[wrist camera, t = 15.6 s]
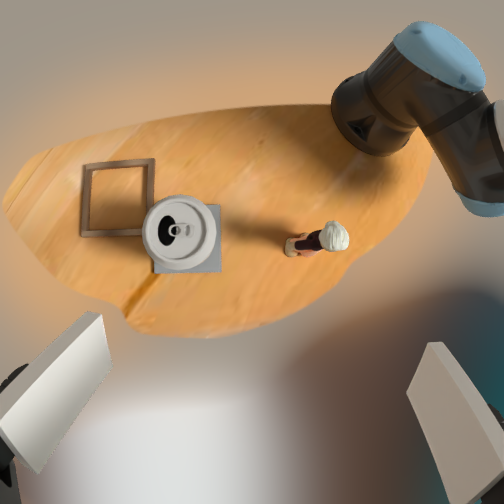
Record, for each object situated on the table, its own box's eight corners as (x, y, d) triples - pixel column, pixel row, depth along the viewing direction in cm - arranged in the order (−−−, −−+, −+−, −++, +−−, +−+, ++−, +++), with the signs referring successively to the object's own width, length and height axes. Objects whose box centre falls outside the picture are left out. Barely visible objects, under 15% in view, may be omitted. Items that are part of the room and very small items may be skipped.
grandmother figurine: (284, 268, 41) (318, 272, 28) (273, 243, 41) (301, 236, 28) (330, 244, 42) (376, 238, 29) (319, 220, 42) (362, 205, 29)
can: (160, 210, 38) (140, 190, 26) (215, 212, 39) (218, 191, 27) (158, 266, 38) (136, 269, 26) (214, 268, 39) (215, 272, 27)
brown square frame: (155, 160, 38) (154, 158, 37) (153, 234, 38) (151, 234, 37) (88, 166, 37) (86, 164, 36) (84, 237, 37) (81, 236, 36)
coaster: (219, 205, 40) (220, 204, 39) (221, 271, 39) (221, 272, 39) (154, 207, 38) (154, 206, 38) (155, 273, 38) (154, 273, 37)
